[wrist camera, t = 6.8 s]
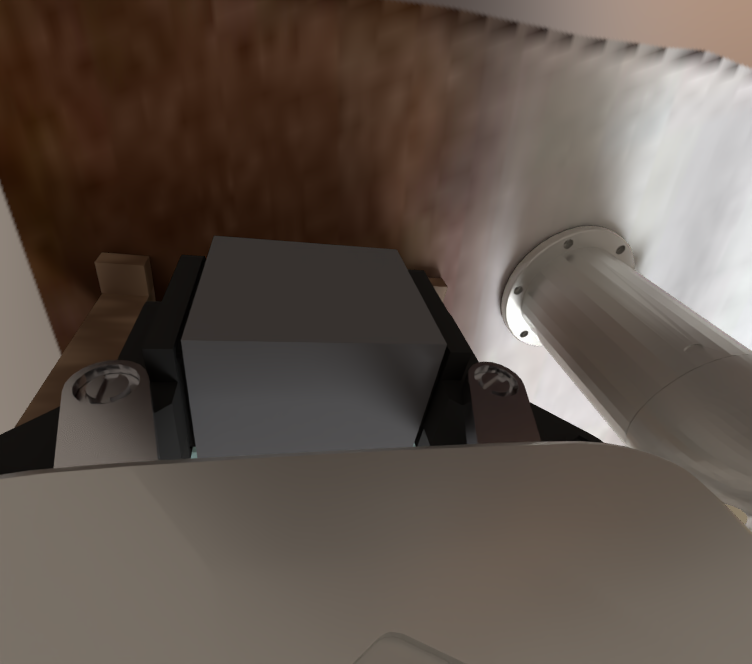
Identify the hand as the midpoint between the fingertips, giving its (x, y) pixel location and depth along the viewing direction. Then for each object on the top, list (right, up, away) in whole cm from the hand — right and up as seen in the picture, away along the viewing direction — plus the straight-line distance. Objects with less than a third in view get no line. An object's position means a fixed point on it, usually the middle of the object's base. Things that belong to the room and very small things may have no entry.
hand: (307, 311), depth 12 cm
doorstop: (-1, -4, +3) cm, 5 cm away
